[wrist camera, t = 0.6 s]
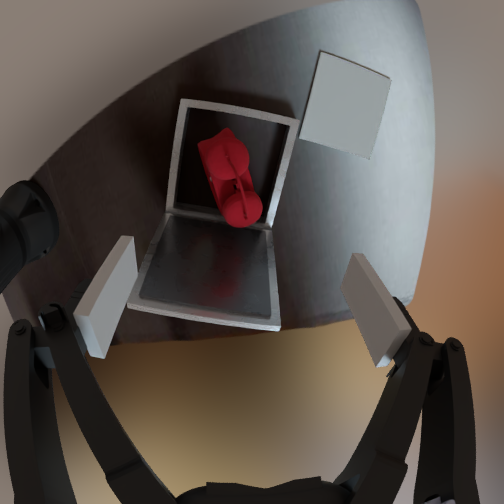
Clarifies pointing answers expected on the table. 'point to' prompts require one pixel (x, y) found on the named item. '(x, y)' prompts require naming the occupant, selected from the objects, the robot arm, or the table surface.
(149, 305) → the lid
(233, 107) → the case
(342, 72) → the mat
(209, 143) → the alarm clock
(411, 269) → the table surface
